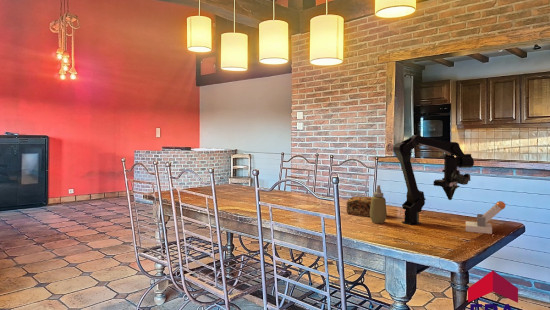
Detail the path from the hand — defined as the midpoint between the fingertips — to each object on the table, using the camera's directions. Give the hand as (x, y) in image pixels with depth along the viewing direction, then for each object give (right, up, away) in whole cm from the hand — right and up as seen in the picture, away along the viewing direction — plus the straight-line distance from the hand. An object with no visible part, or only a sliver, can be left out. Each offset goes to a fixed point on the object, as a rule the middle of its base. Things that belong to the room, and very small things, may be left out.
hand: (450, 199), depth 180 cm
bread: (-36, -11, +19) cm, 42 cm away
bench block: (+6, -12, -16) cm, 20 cm away
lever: (+6, -8, -16) cm, 19 cm away
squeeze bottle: (-35, -11, 0) cm, 37 cm away
